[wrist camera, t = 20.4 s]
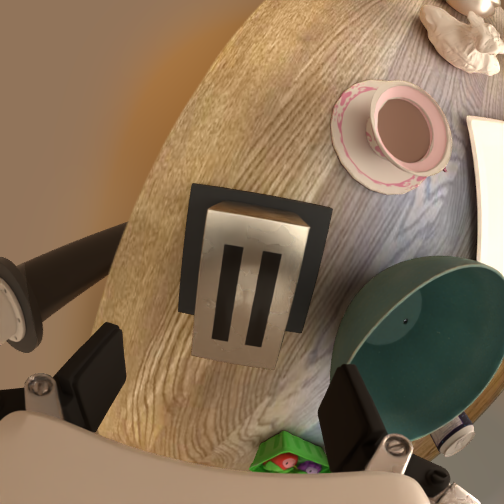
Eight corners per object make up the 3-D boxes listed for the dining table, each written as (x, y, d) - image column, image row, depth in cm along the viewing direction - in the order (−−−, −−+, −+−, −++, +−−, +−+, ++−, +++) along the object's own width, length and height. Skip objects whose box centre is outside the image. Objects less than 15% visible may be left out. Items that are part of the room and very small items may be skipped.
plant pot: (299, 376, 30) (312, 458, 18) (320, 223, 25) (365, 259, 14) (425, 366, 30) (465, 424, 18) (461, 236, 25) (534, 266, 13)
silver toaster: (295, 212, 24) (310, 226, 17) (270, 329, 27) (271, 380, 20) (224, 199, 24) (206, 208, 16) (208, 318, 27) (190, 366, 20)
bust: (400, 30, 21) (424, 34, 14) (422, -9, 15) (453, -17, 8) (470, 84, 22) (508, 112, 15) (492, 49, 16) (536, 68, 9)
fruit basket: (333, 445, 34) (344, 501, 23) (293, 467, 36) (296, 518, 25) (284, 422, 32) (287, 488, 21) (242, 446, 34) (237, 505, 23)
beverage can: (410, 410, 32) (437, 464, 20) (413, 387, 31) (447, 444, 19) (439, 396, 31) (471, 445, 20) (444, 372, 30) (482, 423, 18)
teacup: (304, 136, 23) (317, 123, 17) (371, 60, 21) (395, 36, 15) (393, 219, 25) (424, 230, 19) (448, 140, 22) (483, 135, 16)
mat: (180, 307, 28) (177, 311, 27) (194, 183, 25) (191, 183, 24) (300, 328, 28) (301, 333, 27) (330, 207, 25) (333, 208, 24)
